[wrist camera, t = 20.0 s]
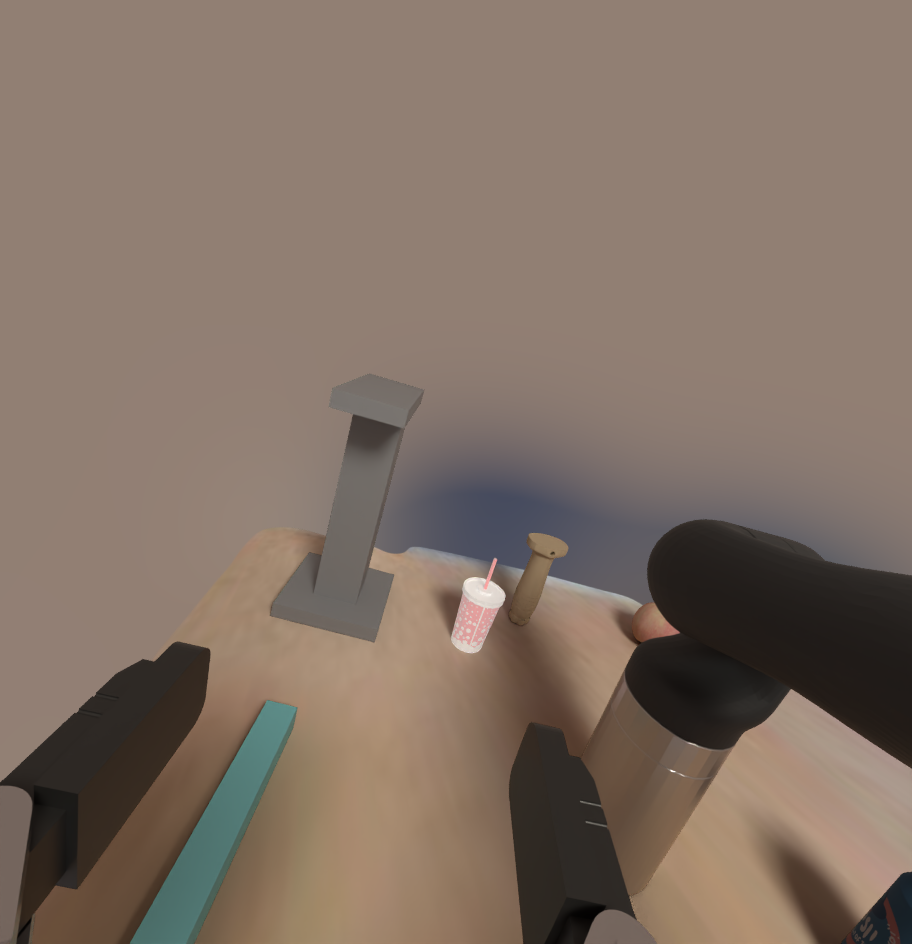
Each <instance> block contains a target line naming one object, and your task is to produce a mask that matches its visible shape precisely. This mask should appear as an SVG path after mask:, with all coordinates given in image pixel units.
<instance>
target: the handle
mask: <svg viewBox="0 0 912 944" xmlns="http://www.w3.org/2000/svg"><path fill="white" fill-rule="evenodd" d="M527 544H528V546H529V547H530V548H531V549H532V550H533V552H532V555H531V557H530V560H529V562H528V564H527V566H526V569H525V571H524V573H523V575H522V577H521V579H520V582H519V584H518V586H517V588H516V591H515V594H514V597H513V601H512V606H511V609H510V612H509V617H510V618H511V621H512V622H514V623H516V624H518V625H519V626H522V625H523V624H527V623H528V621H529V619H530V616H531V615H532V613H533V612H534V610H535V608H536V606H537V604H538V601H539V599H540V596H541V594H542V590H543V587H544V584H545V581H546V578H547V575H548V572H549V569H550V566H551V563H552V562H553V560H554V558H558V557H563V556H565V555H566V553H567V550H568V546H567V545H566V544H565V543H564V542H563V541H562V540H560V539H558V538H555V537H552V536H549V535H546V534H540V533H530V534H529V536H528V538H527Z"/></svg>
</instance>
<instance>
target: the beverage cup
mask: <svg viewBox="0 0 912 944" xmlns="http://www.w3.org/2000/svg"><path fill="white" fill-rule="evenodd" d="M496 562H497V559H496V558H494V560H493V563H492V566H491V568H490V571H489V574H488V577H487V579H484V578H478V577H473V578H468V579H467V580H465V582H464V585H463V588H462V590H463V595H462V599H461V602H460V606H459V610H458V614H457V617H456V621H455V625H454V629H453V632H452V636H451V640H452V643H453V644H454V645H455V647H457V648H458V649H459V650H461V651H464V652H466V653H475V652H478V651H479V650H480V649H481V647H482V645H483V643H484V640H485V638H486V636H487V634H488V632H489V629H490V627H491V625H492V623H493V621H494V618H495V616H496V614H497V612H498V610H499V607H500V606H501V605H503V602H504V601H505V593H504V591H503V590H502V589H501V588H500V587H499V586H498V585H497V584H495V583H493V582H492V581H490V579H491V576H492V573H493V570H494V567H495V565H496Z"/></svg>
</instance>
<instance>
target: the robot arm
mask: <svg viewBox="0 0 912 944" xmlns="http://www.w3.org/2000/svg"><path fill="white" fill-rule="evenodd" d="M647 576H648V577H647V578H648V584H649V590H650V592H651V595H652V598H653V600H654V603H655V604H656V606H657V608H658V610H659V611H660V613H661V614H662V616H663V617H664V618H665V620H666V621H667V622H668V623H669V624H670V625H671V626H672V627H674V628H675V629H676V630H677V631H679V632H680V633H678V634H675V635H670V636H664V637H657V638H652V639H649V640H646V641H644V642H642V643H641V644H640V645H638V647H637V648H636V649H635V650H634V652H633V654H632V656H631V658H630V660H629V662H628V664H627V666H626V668H625V670H624V672H623V674H622V676H621V678H620V680H619V682H618V684H617V686H616V688H615V690H614V692H613V694H612V696H611V698H610V700H609V702H608V704H607V706H606V708H605V710H604V712H603V714H602V716H601V718H600V720H599V722H598V724H597V726H596V728H595V730H594V732H593V734H592V736H591V738H590V740H589V742H588V744H587V746H586V748H585V750H584V752H583V755H582V757H581V758H579V757H575V756H570V755H569V754H568V750H567V746H566V742H565V738H564V734H563V732H562V730H561V729H559V728H555V727H550V726H546V725H541V724H537V723H532V722H531V723H530V724H529V725H528V727H527V730H526V732H525V735H524V738H523V740H522V743H521V746H520V748H519V751H518V753H517V756H516V759H515V761H514V764H513V767H512V771H511V776H510V784H509V799H510V809H511V820H512V830H513V840H514V851H515V861H516V871H517V882H518V892H519V903H520V913H521V923H522V934H523V944H657V943H656V941H655V940H654V938H653V937H652V936H651V934H650V933H649V932H648V931H647V930H646V929H645V928H644V927H643V926H642V924H640V923H639V922H638V921H637V920H636V917H635V914H634V912H633V909H632V905H631V902H630V899H629V895H632V894H637V893H639V892H640V891H641V890H643V889H644V888H645V886H646V885H647V883H648V882H649V880H650V879H651V877H652V876H653V874H654V872H655V871H656V869H657V868H658V866H659V865H660V863H661V862H662V860H663V858H664V857H665V856H666V854H667V853H668V851H669V849H670V848H671V846H672V845H673V843H674V841H675V840H676V838H677V837H678V835H679V834H680V832H681V830H682V829H683V827H684V826H685V824H686V822H687V821H688V819H689V818H690V816H691V814H692V813H693V811H694V810H695V808H696V807H697V805H698V803H699V802H700V800H701V799H702V797H703V795H704V794H705V792H706V791H707V789H708V787H709V786H710V784H711V783H712V781H713V780H714V778H715V776H716V775H717V773H718V771H719V770H720V768H721V766H722V765H723V763H724V762H725V760H726V758H727V757H728V755H729V754H730V752H731V750H732V749H733V747H734V746H735V744H736V743H737V741H738V739H739V738H740V736H741V735H742V734H743V733H744V732H745V731H747V730H749V729H751V728H753V727H756V726H758V725H759V724H761V723H762V722H764V721H765V720H766V719H767V718H768V717H769V716H770V715H771V714H772V713H773V712H774V711H775V710H776V708H777V707H778V705H779V704H780V703H781V701H782V700H783V699H784V697H785V696H786V695H787V693H788V692H789V691H790V689H792V690H794V691H796V692H797V693H799V694H800V695H802V696H803V697H805V698H806V699H808V700H809V701H811V702H813V703H814V704H816V705H817V706H819V707H820V708H822V709H823V710H824V711H826V712H827V713H829V714H830V715H832V716H833V717H835V718H836V719H838V720H839V721H840V722H842V723H843V724H845V725H846V726H848V727H849V728H851V729H852V730H854V731H855V732H857V733H858V734H860V735H861V736H863V737H864V738H866V739H867V740H869V741H870V742H872V743H873V744H875V745H876V746H878V747H879V748H881V749H882V750H884V751H885V752H887V753H888V754H890V755H891V756H893V757H895V758H896V759H898V760H899V761H901V762H902V763H904V764H905V765H907V766H909V767H910V768H912V576H911V575H905V574H898V573H891V572H884V571H877V570H871V569H864V568H858V567H853V566H847V565H841V564H836V563H832V562H828V561H825V560H824V559H823V558H822V557H821V556H819V554H817V553H816V552H815V551H814V550H812V549H811V548H809V547H807V546H805V545H803V544H801V543H798V542H796V541H793V540H790V539H786V538H783V537H779V536H775V535H772V534H768V533H764V532H761V531H757V530H753V529H750V528H746V527H742V526H739V525H735V524H732V523H728V522H724V521H717V520H707V519H705V520H694V521H690V522H686V523H683V524H680V525H679V526H676V527H675V528H673V529H671V530H670V531H669V532H667V533H666V534H665V535H664V536H663V537H662V538H661V539H660V540H659V541H658V542H657V544H656V545H655V547H654V548H653V550H652V552H651V555H650V558H649V562H648V568H647ZM209 663H210V649H208V648H204V647H200V646H196V645H191V644H187V643H182V642H175V643H173V644H172V645H171V646H170V647H169V648H168V649H167V650H166V651H165V652H164V653H163V654H162V655H161V656H160V657H159V658H158V659H157V660H156V661H155V662H153V661H148V660H144V659H142V660H141V661H139V662H137V663H135V664H133V665H131V666H130V667H128V668H126V669H124V670H122V671H120V672H118V673H117V674H116V675H114V677H112V678H111V679H110V680H109V681H108V682H107V683H106V684H105V685H104V686H103V687H102V688H101V689H100V690H99V691H98V692H96V695H95V696H94V697H93V696H92V697H91V698H90V699H89V700H88V701H87V702H86V703H85V704H84V705H83V706H82V707H81V708H79V711H78V712H77V713H74V714H73V715H72V716H71V717H70V718H69V719H68V720H67V721H66V722H64V723H63V724H62V725H61V726H60V727H59V728H58V729H57V730H56V731H55V732H54V733H53V734H52V735H51V736H50V737H48V738H47V739H46V740H45V741H44V742H43V743H42V744H41V745H40V746H39V747H38V748H37V749H36V750H35V751H34V752H33V753H31V754H30V755H29V756H28V757H27V758H26V759H25V760H24V761H23V762H22V763H21V764H20V765H19V766H18V767H17V768H16V769H15V770H13V771H12V772H11V773H10V774H9V775H8V776H7V777H6V778H5V779H4V780H2V781H1V782H0V944H32V936H33V928H34V920H35V911H36V910H37V909H38V908H39V906H40V905H41V904H42V902H43V901H44V900H45V898H46V897H47V896H48V894H49V893H50V892H51V890H52V889H53V888H54V886H55V885H57V886H62V887H67V888H72V889H78V887H79V886H80V885H81V883H82V882H83V880H84V879H85V878H86V876H87V875H88V873H89V872H90V871H91V869H92V868H93V866H94V865H95V864H96V862H97V861H98V859H99V858H100V857H101V855H102V854H103V852H104V851H105V850H106V848H107V847H108V845H109V844H110V843H111V841H112V840H113V838H114V837H115V836H116V834H117V833H118V831H119V830H120V829H121V827H122V826H123V824H124V823H125V822H126V820H127V819H128V817H129V816H130V815H131V813H132V812H133V810H134V809H135V808H136V806H137V805H138V803H139V802H140V801H141V799H142V798H143V796H144V795H145V794H146V792H147V791H148V789H149V788H150V787H151V785H152V784H153V782H154V781H155V780H156V778H157V777H158V775H159V774H160V773H161V771H162V770H163V768H164V767H165V766H166V764H167V763H168V761H169V760H170V759H171V757H172V756H173V754H174V753H175V752H176V750H177V749H178V747H179V746H180V745H181V743H182V742H183V740H184V739H185V738H186V736H187V735H188V733H189V732H190V731H191V729H192V728H193V726H194V725H195V723H196V721H197V719H198V717H199V715H200V713H201V711H202V708H203V705H204V702H205V697H206V689H207V680H208V672H209Z"/></svg>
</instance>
